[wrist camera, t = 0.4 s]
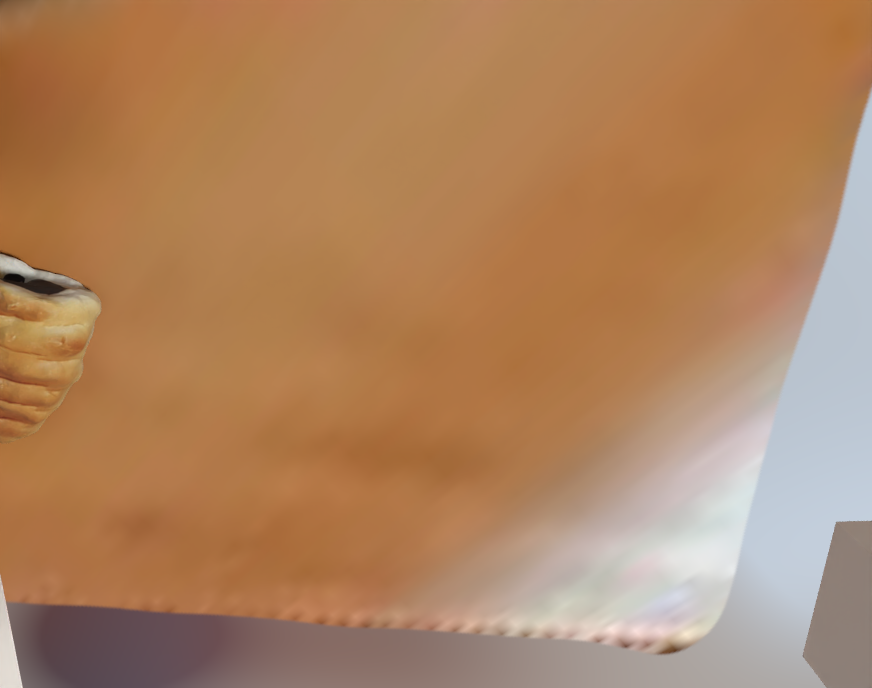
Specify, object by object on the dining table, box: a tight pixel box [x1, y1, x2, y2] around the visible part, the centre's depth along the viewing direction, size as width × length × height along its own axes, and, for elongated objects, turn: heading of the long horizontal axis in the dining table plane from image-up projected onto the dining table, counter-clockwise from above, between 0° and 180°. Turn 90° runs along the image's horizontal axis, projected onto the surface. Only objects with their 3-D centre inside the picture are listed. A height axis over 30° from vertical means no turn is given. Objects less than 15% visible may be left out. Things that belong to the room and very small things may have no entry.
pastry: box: [0, 254, 101, 443], centre depth 36 cm, size 9×7×4 cm
